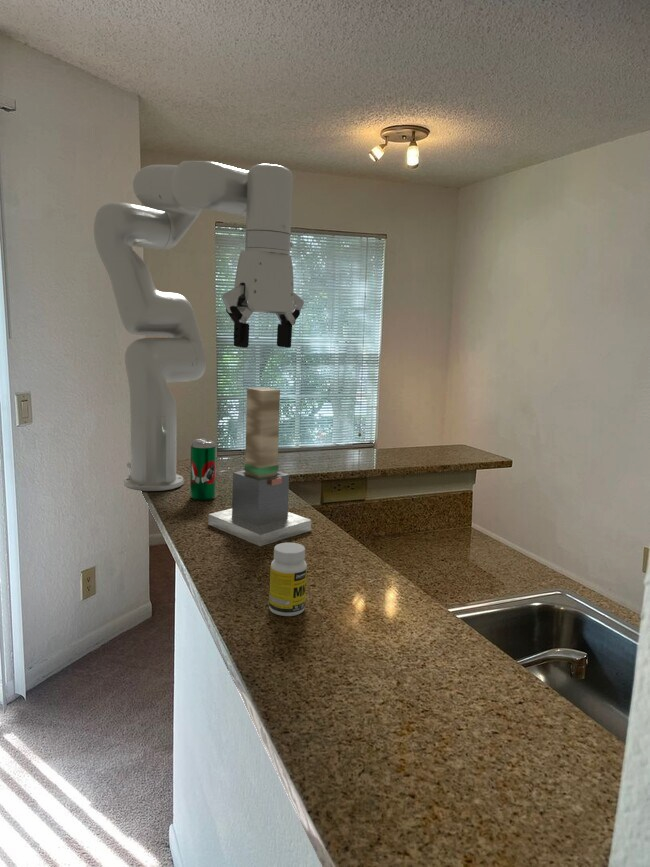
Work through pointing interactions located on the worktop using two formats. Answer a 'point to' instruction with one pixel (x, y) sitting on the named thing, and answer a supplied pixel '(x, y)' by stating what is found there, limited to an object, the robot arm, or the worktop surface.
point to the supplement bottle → (288, 580)
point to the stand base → (260, 510)
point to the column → (262, 432)
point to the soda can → (203, 470)
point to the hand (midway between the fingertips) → (263, 346)
